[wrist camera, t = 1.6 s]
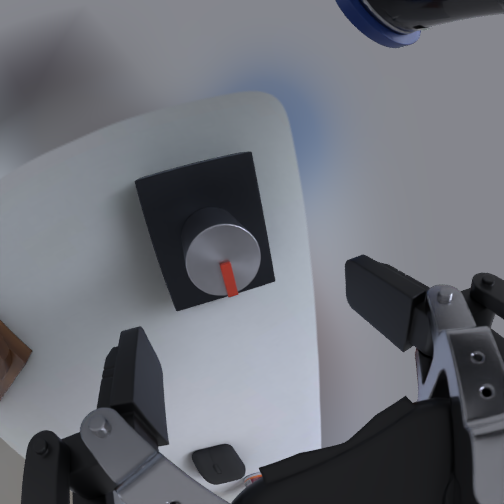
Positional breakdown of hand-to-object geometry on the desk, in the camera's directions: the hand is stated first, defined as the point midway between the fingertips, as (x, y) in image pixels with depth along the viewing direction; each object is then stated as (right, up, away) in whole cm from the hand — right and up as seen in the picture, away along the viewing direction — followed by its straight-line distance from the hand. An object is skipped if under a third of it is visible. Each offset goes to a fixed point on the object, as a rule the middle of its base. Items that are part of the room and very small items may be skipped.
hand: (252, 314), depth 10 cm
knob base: (-4, +4, +12) cm, 13 cm away
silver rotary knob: (-3, +3, +9) cm, 10 cm away
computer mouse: (-5, -30, +24) cm, 39 cm away
